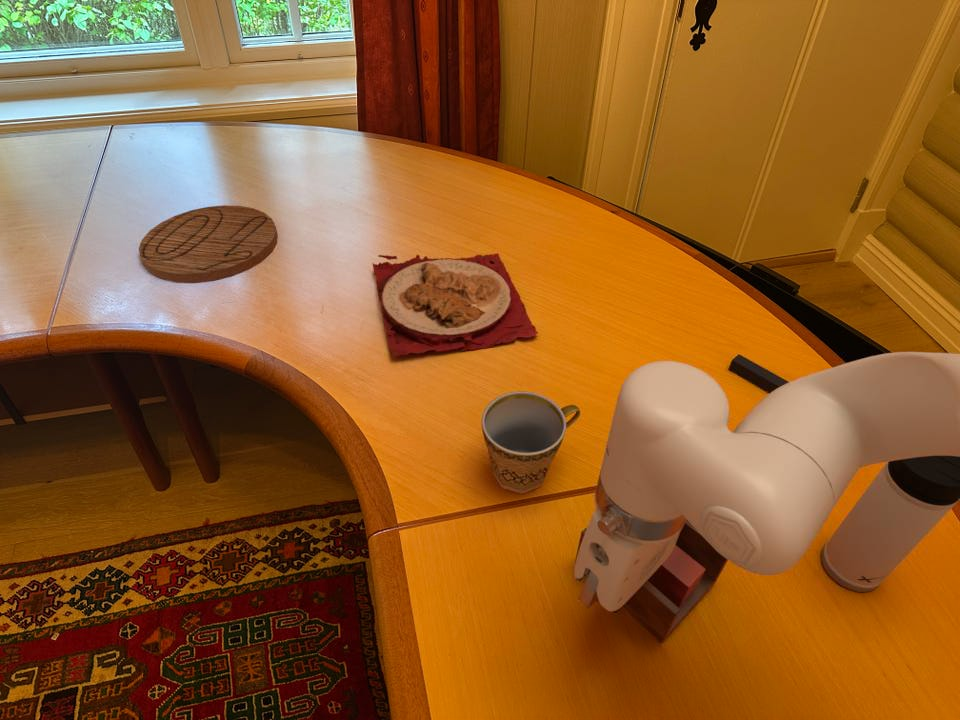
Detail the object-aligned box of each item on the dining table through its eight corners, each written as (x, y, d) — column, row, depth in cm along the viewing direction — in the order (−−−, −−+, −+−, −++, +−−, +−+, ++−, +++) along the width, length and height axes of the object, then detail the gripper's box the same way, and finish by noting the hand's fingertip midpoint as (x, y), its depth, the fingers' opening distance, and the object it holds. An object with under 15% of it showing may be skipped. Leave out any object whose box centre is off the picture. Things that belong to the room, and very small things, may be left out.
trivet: (298, 219, 125) (296, 211, 124) (240, 290, 107) (238, 281, 106) (187, 208, 128) (184, 200, 127) (113, 274, 110) (109, 265, 109)
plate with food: (391, 364, 93) (389, 348, 91) (373, 269, 111) (371, 253, 109) (538, 342, 98) (540, 326, 95) (498, 254, 116) (499, 238, 113)
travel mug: (868, 607, 65) (972, 500, 52) (809, 564, 69) (891, 453, 55) (893, 571, 68) (996, 461, 55) (835, 532, 72) (919, 419, 58)
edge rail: (866, 438, 83) (873, 428, 81) (860, 445, 82) (866, 436, 80) (735, 363, 93) (738, 353, 92) (728, 369, 92) (731, 359, 91)
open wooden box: (715, 582, 67) (732, 551, 63) (661, 643, 62) (676, 614, 58) (629, 512, 74) (639, 480, 69) (574, 563, 69) (581, 531, 64)
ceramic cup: (502, 517, 73) (505, 466, 66) (468, 457, 80) (467, 405, 73) (593, 479, 77) (604, 428, 70) (553, 426, 84) (560, 374, 77)
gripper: (623, 585, 44) (589, 679, 56) (732, 471, 51) (681, 577, 64) (547, 517, 48) (531, 619, 60) (658, 421, 55) (624, 530, 68)
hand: (608, 597), depth 62 cm, fingers closed
